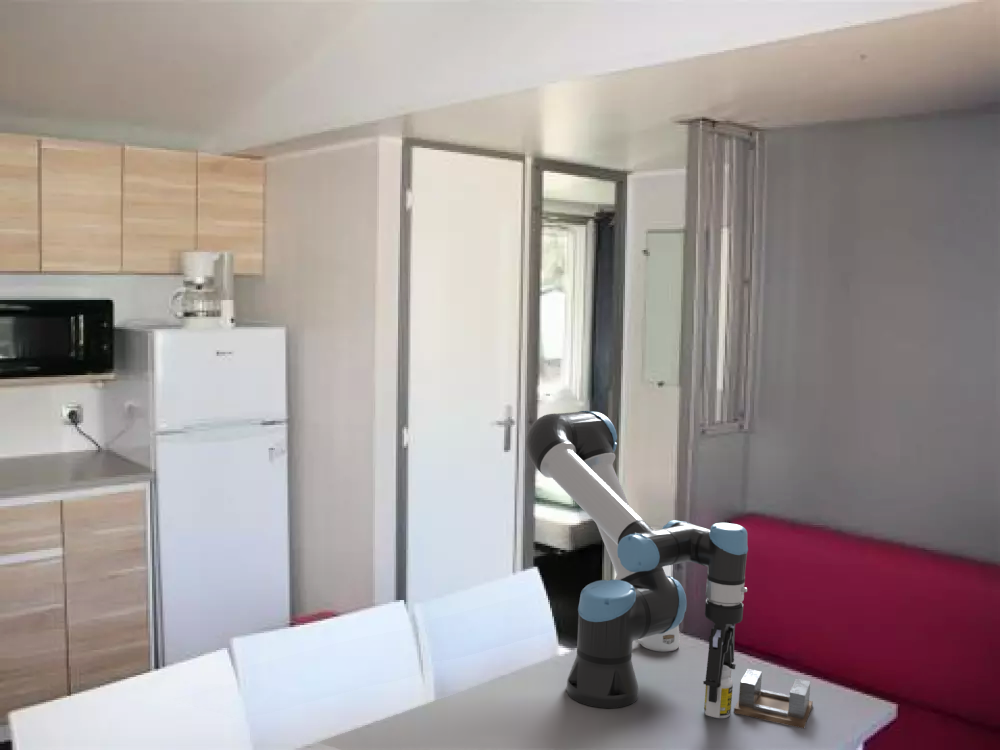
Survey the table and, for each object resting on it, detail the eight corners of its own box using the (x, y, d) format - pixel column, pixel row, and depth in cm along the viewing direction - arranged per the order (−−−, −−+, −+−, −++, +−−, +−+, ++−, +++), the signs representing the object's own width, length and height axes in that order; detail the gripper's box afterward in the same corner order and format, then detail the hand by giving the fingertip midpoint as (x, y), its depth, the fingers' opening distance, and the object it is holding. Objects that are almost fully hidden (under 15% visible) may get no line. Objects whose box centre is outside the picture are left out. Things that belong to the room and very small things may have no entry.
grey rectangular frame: (737, 706, 202) (739, 683, 202) (746, 689, 211) (748, 667, 210) (802, 720, 197) (804, 696, 196) (809, 703, 205) (811, 680, 205)
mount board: (733, 712, 201) (734, 708, 201) (745, 691, 212) (745, 687, 212) (804, 728, 195) (804, 723, 195) (812, 705, 206) (812, 701, 206)
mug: (666, 636, 244) (668, 613, 243) (686, 651, 234) (688, 626, 234) (623, 640, 240) (625, 616, 239) (642, 655, 230) (643, 630, 230)
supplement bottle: (731, 720, 198) (734, 674, 197) (703, 717, 199) (706, 671, 198) (730, 709, 203) (733, 664, 202) (703, 706, 204) (706, 661, 203)
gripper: (732, 619, 187) (724, 732, 189) (753, 589, 206) (746, 692, 208) (693, 612, 190) (686, 723, 193) (717, 583, 209) (711, 684, 212)
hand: (717, 707), depth 201 cm, fingers open, 8 cm apart
